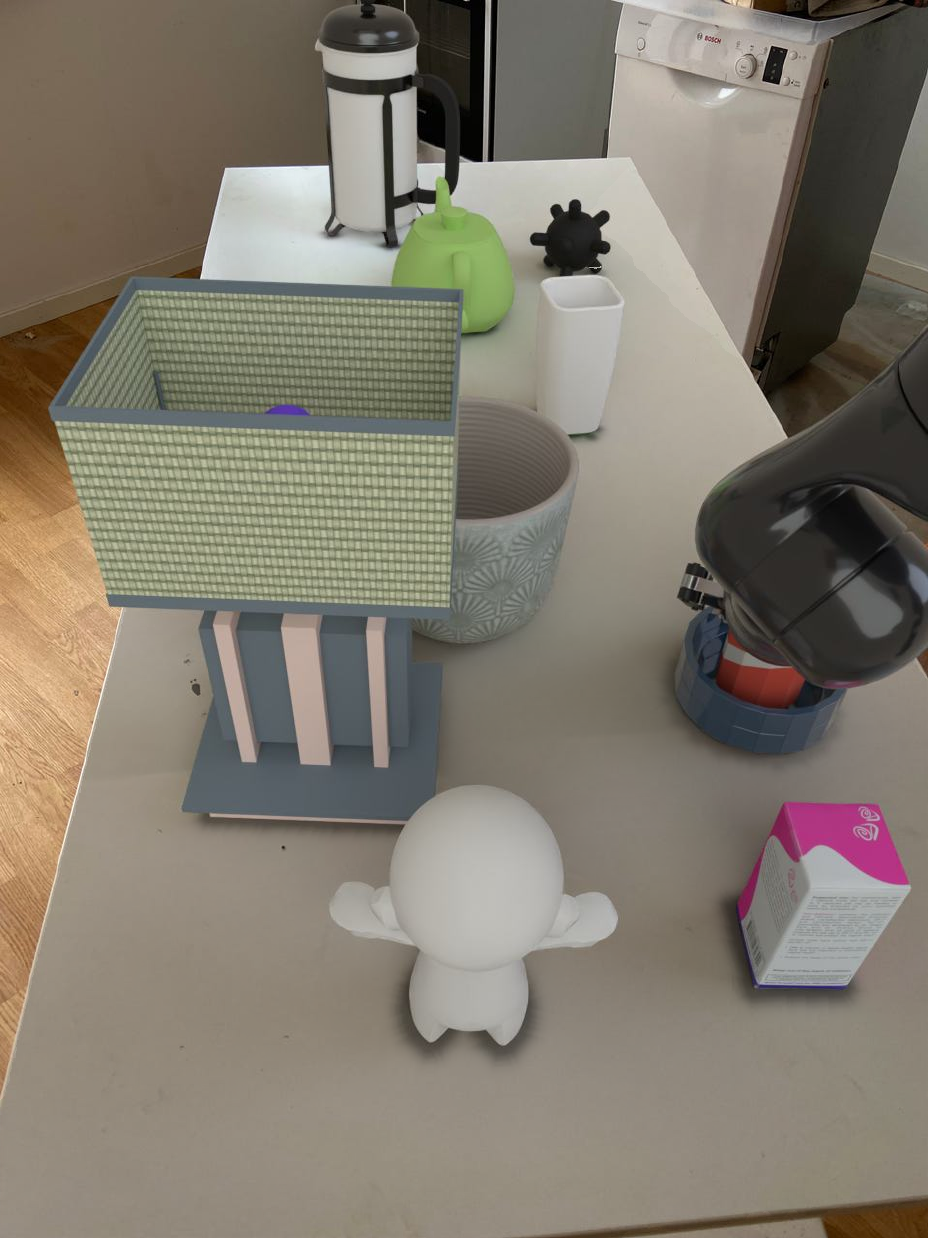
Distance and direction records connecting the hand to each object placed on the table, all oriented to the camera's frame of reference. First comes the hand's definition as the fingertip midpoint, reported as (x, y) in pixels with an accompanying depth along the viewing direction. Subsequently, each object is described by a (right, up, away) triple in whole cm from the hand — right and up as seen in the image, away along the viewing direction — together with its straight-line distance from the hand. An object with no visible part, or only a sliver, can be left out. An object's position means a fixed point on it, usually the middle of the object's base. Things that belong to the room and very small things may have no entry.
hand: (777, 620), depth 72 cm
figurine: (-23, -23, -15) cm, 36 cm away
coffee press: (-35, +56, +68) cm, 95 cm away
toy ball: (-10, +46, +59) cm, 75 cm away
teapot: (-25, +39, +50) cm, 68 cm away
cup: (-12, +21, +32) cm, 40 cm away
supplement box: (-3, -21, -11) cm, 24 cm away
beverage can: (-1, -5, +3) cm, 6 cm away
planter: (-24, +1, +11) cm, 26 cm away
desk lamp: (-34, -10, -1) cm, 35 cm away
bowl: (-1, -6, +4) cm, 7 cm away
